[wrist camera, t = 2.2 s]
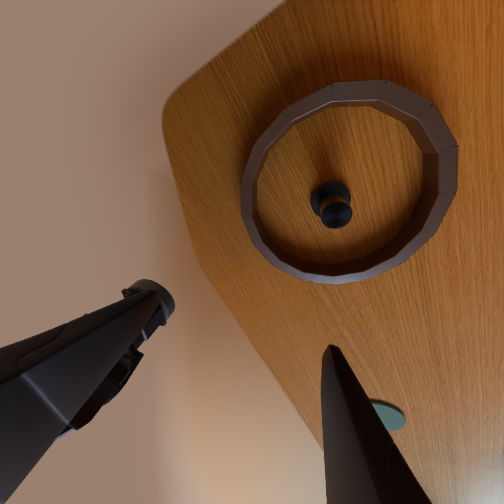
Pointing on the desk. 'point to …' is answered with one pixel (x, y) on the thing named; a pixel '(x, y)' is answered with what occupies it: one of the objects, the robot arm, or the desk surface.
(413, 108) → the hoop
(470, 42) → the desk surface
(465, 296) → the desk surface
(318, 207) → the peg stand
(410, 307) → the desk surface
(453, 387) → the desk surface
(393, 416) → the pad
